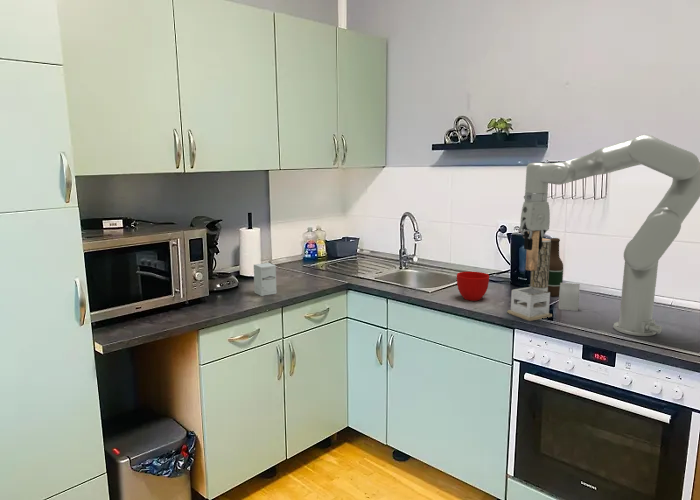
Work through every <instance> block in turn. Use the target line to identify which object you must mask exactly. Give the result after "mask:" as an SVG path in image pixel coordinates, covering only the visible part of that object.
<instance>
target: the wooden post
mask: <svg viewBox="0 0 700 500" xmlns="http://www.w3.org/2000/svg"><path fill="white" fill-rule="evenodd" d="M528 230H529V229H528ZM528 234H529V232H528ZM539 235H540V230H538V231H533V232H532V237H531V239H532V250H527V249H526V257H525V270H526V271H530V272H531V271H537V266H538V251H539Z"/></svg>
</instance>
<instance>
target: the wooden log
mask: <svg viewBox="0 0 700 500" xmlns="http://www.w3.org/2000/svg"><path fill="white" fill-rule="evenodd" d="M550 248H551V238H544V237H543V238H542V248H541V249H539V251H538V266H537V271H530V282H529V287H533V288H536V289H540V290H543V291H547V292H548V279H549V263H550Z"/></svg>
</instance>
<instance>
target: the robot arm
mask: <svg viewBox="0 0 700 500" xmlns="http://www.w3.org/2000/svg"><path fill="white" fill-rule="evenodd" d="M639 165H643V166H644V167H647V168H649V169H651V170H653V171H656V172H658V173H661V174H663V175H665V176H667V177H670V178H672V183H671V185H670V187H669V188H668V189H667V191H666V193H665V194H664V196H663V198H662V199H661V200H660V201H659V202H658V204H657V205H656V207H655V208H654V209H653V211H652V212H651V213H649V214H648V216H647V217H646V219H645V221H644V222H643V223H642V224H641V226H640V227H639V229H638V230H637V232H636V233H635V234H634V236H633V238H632V239H630V240H629V241H628V242H627V244H626V246H625V248H624V250H623V260H624V264H623V265H624V267H623V275H622V284H621V285H622V286H621V295H620V296H621V297H620V307H619V309H620V310H619V317H618V319H619V320H618V321H616V322H614V323H613V328H614V330H615V331H617V332H620V333H621V334H622V333H623V334H626V335H630V336H639V337H650V336H654V335H656V334H661V333H662V331H663V325H657V324H656V319H653V315H654V304H655V294H656V286H657V277H658V267H659V260H660V259H661V258H662V257H663V255H664V254H665V253H666V251H667V250H668V249H669V247H670V246H671V245H672V244H673V242H674V241H675V239H677V236H678V235H679V234H680V231H681V229H682V223H683V222H684V220H685V219H686V218H687V216H688V215H689V213H690V212H691V211H692V209H693V208H694V207H695V205H696V203H698V201H699V199H700V160H699V157H698V156H697V155H696V154H695V153H693V152H691V151H689V150H687V149H684V148H681V147H679V146H677V145H674V144H671V143H668V142H666V141H664V140H662V139H660V138H657V137H655V136H653V135H650V134H642V135H639V136H637V137H635V138H632V139H629V140H625V141H622V142H619V143H614V144H611V145H607V146H604V147H601V148H599V149H597V150H595V151H593V152H590V153H589V154H586V155H583V156H580V157H576V158H573V159H570V160H565V161H559V162H554V163H553V162H551V163H546V162H529V163H528V164H527V166H526V171H525V172H526V175H525V190H524V196H523V199H524V201H523V204H522V208H521V214H520V223H519V224H520V226H519V228H518V232H519V233H521V235H522V238H523V239H524V240H523V241H524V243H523V244H524V245H523V249H524V250H526V251H527V250H532V239H531V237H532V232H533V231H538V230H540V235H539V249H541V248H542V238H544V237H545V234H546V232H547V231H549V230H550V222H551V221H550V220H551V218H550V217H551V216H550V215H551V212H550V210H551V209H550V203H549V201H548V192H549V184H551V185H557V186H558V185H559V186H560V185H565V184H568V183H572V182H576V181H579V180H582V179H586V178H591V177H594V176H600V175H606V174H610V173H613V172H617V171H620V170H624V169H629V168H632V167H636V166H639ZM528 229H529V230H528ZM528 232H529V234H528Z"/></svg>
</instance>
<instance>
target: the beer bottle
mask: <svg viewBox="0 0 700 500" xmlns="http://www.w3.org/2000/svg"><path fill="white" fill-rule="evenodd" d="M550 239H551V248H550V263H549V279H548V292H550V297H553V298H554V297H557V298H558V297H559V291H560V283H564V282H563V280H564V279H563V277H564V263H563V261H562V259H561V258H560V241H561V239H560V238H559V237H552V238H550Z"/></svg>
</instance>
